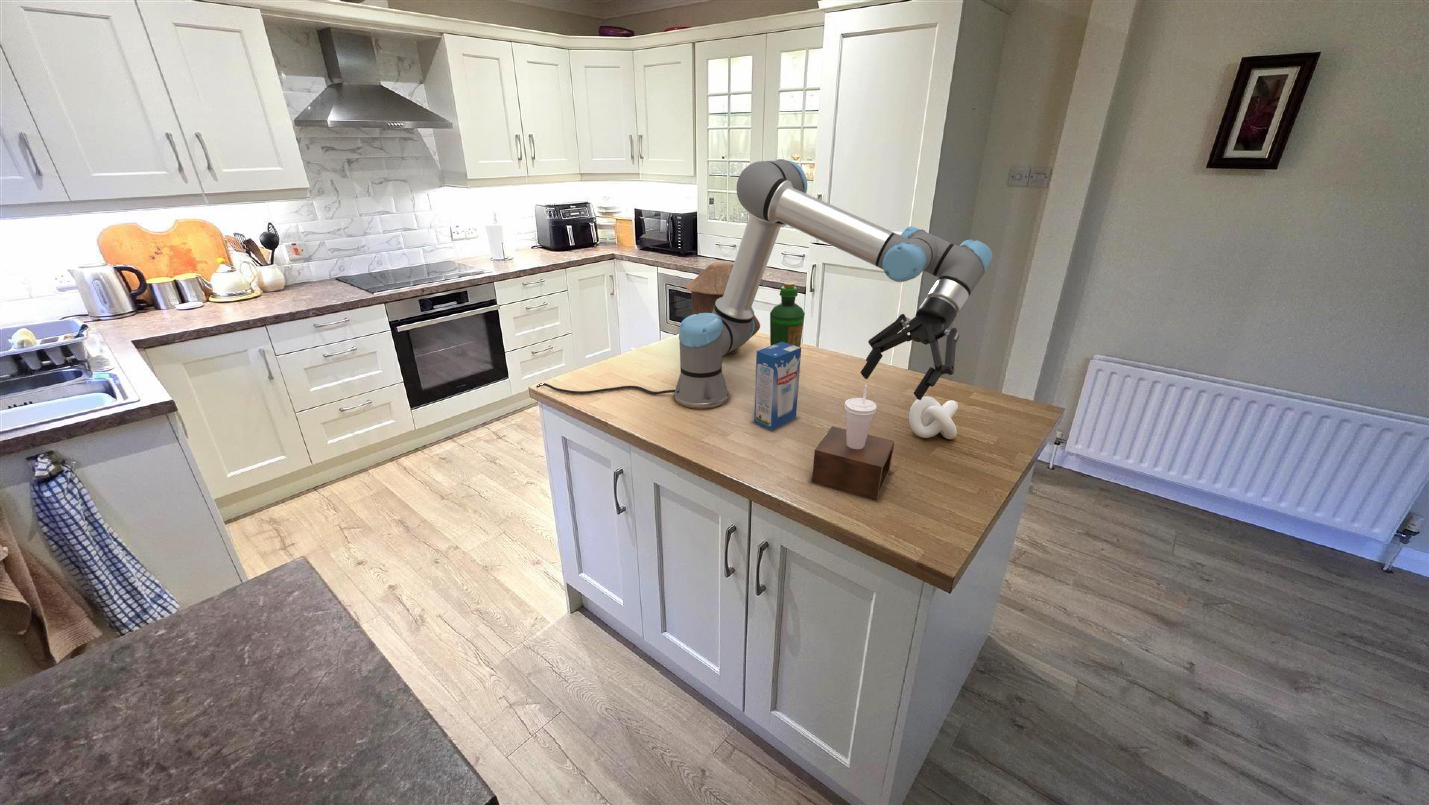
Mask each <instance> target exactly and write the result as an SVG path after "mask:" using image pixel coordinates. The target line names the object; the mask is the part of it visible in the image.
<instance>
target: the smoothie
mask: <svg viewBox="0 0 1429 805" xmlns="http://www.w3.org/2000/svg"><path fill="white" fill-rule="evenodd" d="M867 393H868V384H864V388H863V396H862V397H852V398H849V399H847V400H845V402H844V406H843V407H844V409H845V429H846V439H847V446H848V447H850V448H852V449H862V448H864V446H865V442H866V439H867V435H869V432H870V429H871V424H872V422H873V418H874V414H875V413H876V412H877V406H878V405H877V404H876V402H875V401H873V400H870V399H867Z"/></svg>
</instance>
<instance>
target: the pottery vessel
mask: <svg viewBox="0 0 1429 805" xmlns="http://www.w3.org/2000/svg"><path fill="white" fill-rule="evenodd" d="M733 265H734V263H733V262H712V263H710V264H708V266H706V267H705V268H704V269H703V270H702V271H701V272H700V273H699V274H698V275H697V276H696V277H695V278H694V279H693V280H691V281H690V282H688V283H686V285H685V288H686V289H687V290H688V291H690V296H691V315H694V314H697V315H698V314H699V313H712V312H713V308H714V306H715V302H716V300H717V299H719V298H721V297H723V295H724V292H725V289H726V286H727V283H728V280H729V277H730V274H731V271H732V268H733ZM753 321H754V325H755V326H754V332H753V334H752V336H751V338H752V337H754V336H755V335H756V334H757V333H758V331H760V328H761V323H760V321H759V319H758V317H757V316H756V315H755V314H754V316H753ZM741 347H742V346H740V347H738V348H736V349H734V350H732V351H730V352H729V353H727V354H726V355H732V354H735V353H736V352H737V351H738V349H740V348H741Z"/></svg>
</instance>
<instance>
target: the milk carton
mask: <svg viewBox="0 0 1429 805" xmlns="http://www.w3.org/2000/svg"><path fill="white" fill-rule="evenodd" d="M801 356H802V347H801V346H800V347H798V346H794V345H791V344H788V343H785V342H780V343H777V344H774V345H771V346H770V345H769V346H766V347H764V348H761V349H758V350H756V354H755V357H756V359H755V382H754V384H755V385H754V408H753V409H754V410H753V412H754V413H753V423H754V424H756V425H758V426H760V427H761V428H765V429H767V430H769V431H773V432H774V431H775V430H778V428H780V427H783V426H784V425H787V424H788V423H790V422H792V421H794V420H797V410H798V409H797V408H798V395H799V386H800V385H799V383H800V372H801V371H800V370H801Z"/></svg>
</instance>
